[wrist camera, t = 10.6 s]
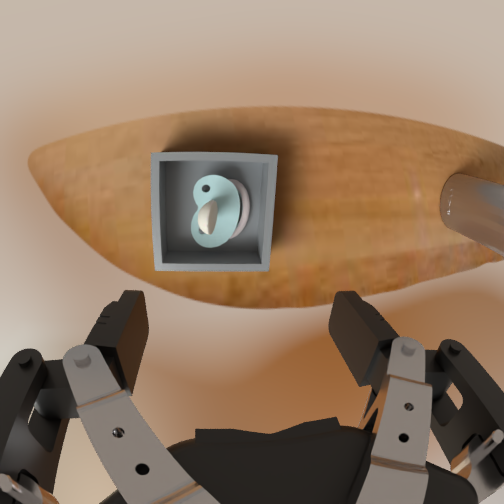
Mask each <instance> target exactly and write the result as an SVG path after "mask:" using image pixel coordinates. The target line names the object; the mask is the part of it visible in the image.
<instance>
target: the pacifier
mask: <svg viewBox="0 0 504 504" xmlns="http://www.w3.org/2000/svg"><path fill="white" fill-rule="evenodd" d="M203 185H209V186H210V190H209V191H208V192H204V191H202V186H203ZM238 193H239V195H240V197H241V202H242V211H241V216H240V218H239V213H240V199H239V195H238ZM193 196H194V200H195V202H196V204H197V205H198V210H197V211H196V213H195V214H194V216H193V219H192V222H191V232H192V236H193V238H194V239H195V241H196V242H197V243H198V244H200V245H201V246H203V247H207V248H212V247H217V246H220V245H221V244H223V243H225V242H226V241H227V240H228V239H231V238H233V237H235V236H237V235H238V234H239V233H240V232H241V231H242V230H243V228H244V227H245V225H246V223H247V220H248V217H249V212H250V201H249V195H248V193H247V190H246V188H245V187H244V186H243V184H242V183H240V182H239V181H238V180H234V179H226V178H224V177H222V176H219V175H207V176H204V177H202V178H201V179H200V180H198V181H197V183H196V184H195V186H194V190H193ZM238 219H239V221H238ZM199 227H200V229H201V230H202V231H203V232H204V234H201V233H200V232H199Z"/></svg>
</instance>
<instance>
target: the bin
mask: <svg viewBox="0 0 504 504" xmlns="http://www.w3.org/2000/svg"><path fill="white" fill-rule="evenodd" d="M277 161H278V155H269V154H253V153H231V152H158V153H151V213H152V235H153V250H154V263H155V271H269V263H270V251H271V240H272V228H273V215H274V202H275V189H276V176H277ZM207 175H219V176H222V177H224V178H226V179H234V180H238V181H239V182H240V183H242V184H243V186H244V187H245V188H246V190H247V193H248V195H249V201H250V212H249V217H248V220H247V223H246V225H245V227H244V228H243V230H242V231H241V232H240V233H239V234H238V235H237V236H235V237H233V238H231V239H228V240H227V241H226V242H225V243H223V244H221V245H220V246H217V247H212V248H207V247H203V246H201V245H200V244H198V243H197V242H196V241H195V239H194V238H193V236H192V232H191V222H192V219H193V216H194V214H195V213H196V211H197V210H198V205H197V204H196V202H195V200H194V196H193V190H194V186H195V184H196V183H197V181H198V180H200V179H201V178H202V177H204V176H207ZM209 190H210V186H209V185H203V186H202V191H204V192H208V191H209ZM238 195H239V193H238ZM239 199H240V213H239V218H240V216H241V211H242V202H241V197H240V195H239ZM238 221H239V219H238ZM199 232H200V233H201V234H204V232H203V231H202V230H201V229H200V227H199Z"/></svg>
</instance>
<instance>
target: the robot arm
mask: <svg viewBox="0 0 504 504" xmlns="http://www.w3.org/2000/svg"><path fill="white" fill-rule="evenodd" d="M440 211H441V217H442V220H443V222H444V224H445V225H446V226H447V227H448V228H450V229H452V230H454V231H456V232H458V233H460V234H462V235H464V236H466V237H468V238H470V239H472V240H474V241H476V242H478V243H480V244H482V245H484V246H486V247H488V248H490V249H491V250H493V251H495V252H497V253H499V254H501V255H502V256H504V185H502V184H498V183H495V182H491V181H488V180H484V179H480V178H477V177H473V176H469V175H465V174H460V173H457V174H454V175H452V176H451V177H450V178H449V179H448V180H447V182H446V184H445V186H444V188H443V191H442V195H441V201H440ZM148 333H149V325H148V317H147V311H146V305H145V297H144V293H143V291H137V290H135V291H134V290H125V291H124V292H123V294H122V296H121V297H120V299H119V301H118V302H117V301H113V302H111V303H110V304H109V305H107V306H106V307H105V308H104V309H103V311H102V313H101V314H100V317H99V318H98V319H97V321H96V324H95V325H94V327H93V328H92V330H91V332H90V334H89V335H88V337H87V339H86V341H85V343H84V344H83V345H78V346H75V347H73V348H71V349H69V350H68V351H67V352H66V354H65V355H64V357H63V359H61V360H50V361H44V360H43V358H42V355H41V353H40V352H39V351H37V350H35V349H24V350H21V351H19V352H17V353H16V354H15V355H14V356H13V357H12V359H11V360H10V362H9V364H8V365H7V367H6V369H5V370H4V372H3V374H2V376H1V377H0V504H59V502H58V501H57V499H56V498H55V497H54V496H53V490H54V484H55V477H56V473H57V468H58V463H59V459H60V454H61V450H62V446H63V442H64V438H65V434H66V430H67V427H68V423H69V420H70V418H81V421H82V424H83V425H84V428H85V430H86V432H87V435H88V437H89V439H90V441H91V443H92V445H93V447H94V449H95V451H96V453H97V455H98V456H99V458H100V460H101V462H102V464H103V465H104V467H105V469H106V470H107V472H108V474H109V476H110V478H111V479H112V481H113V482H114V484H115V486H116V487H117V490H116V491H115V492H113V493H112V494H111V495H110V496H108V497H107V498H106V499H104V500H103V501H102V502H101V503H99V504H479V503H480V502H481V501H483V500H484V499H485V498H487V497H488V496H490V495H491V494H493V493H494V492H496V491H497V490H498V489H500V488H501V487H502V486H504V393H503V391H502V390H501V389H500V387H499V386H498V385H497V384H496V382H495V381H494V380H493V379H492V377H491V376H490V375H489V374H488V373H487V372H486V370H485V369H484V368H483V367H482V366H481V365H480V363H479V362H478V361H477V360H476V359H475V358H474V357H473V356H472V354H471V353H470V352H469V351H468V350H467V349H466V348H465V347H464V346H463V345H462V344H461V343H459V342H457V341H455V340H451V339H446V340H443V341H442V342H441V344H440V346H439V348H438V350H425V349H424V347H423V346H422V344H421V343H419V342H418V341H417V340H415V339H412V338H409V337H400V336H399V335H398V334H397V333H396V332H395V331H394V329H393V328H392V327H391V326H390V325H389V324H388V322H387V321H386V320H385V319H384V318H383V317H382V315H380V313H379V312H378V311H377V310H376V309H375V308H374V307H373V306H372V305H370V304H369V303H367V302H365V301H363V300H362V299H361V297H360V296H359V295H358V294H357V293H356V292H355V291H338V292H337V293H336V295H335V298H334V302H333V307H332V311H331V315H330V319H329V333H330V335H331V337H332V339H333V341H334V342H335V344H336V346H337V348H338V350H339V351H340V353H341V355H342V357H343V358H344V360H345V362H346V364H347V366H348V367H349V369H350V371H351V373H352V374H353V376H354V378H355V380H356V382H357V384H358V386H359V387H361V386H366V385H371V387H372V388H371V390H370V392H369V395H368V398H367V402H366V405H365V408H364V411H363V414H362V417H361V420H360V423H359V426H358V428H356V427H351V426H340V424H339V422H338V420H337V417H332V418H327V419H322V420H316V421H310V422H304V423H302V424H299V425H296V426H293V427H291V428H288V429H285V430H282V431H279V432H276V433H272V434H265V433H257V432H249V431H243V430H236V429H195V438H194V439H189V440H185V441H182V442H179V443H177V444H174V445H172V446H170V447H168V448H165V447H164V445H163V444H162V443H161V442H160V440H159V439H158V438H157V437H156V435H155V434H154V432H153V431H152V430H151V428H150V427H149V426H148V424H147V423H146V421H145V420H144V419H143V417H142V416H141V415H140V413H139V411H138V410H137V408H136V407H135V405H134V404H133V402H132V401H131V399H130V398H129V396H132V394H133V389H134V386H135V382H136V378H137V374H138V370H139V367H140V363H141V360H142V356H143V352H144V349H145V345H146V342H147V339H148ZM452 382H453V383H454V385H455V386H456V388H457V389H458V390H459V392H460V393H461V395H462V397H463V404H462V406H461V408H460V409H459V410H458V409H457V407H456V406H455V405H454V403H453V402H452V400H451V399H450V397H449V396H448V394H447V393H446V391H447V389H448V388H449V387H450V385H451V384H452ZM33 406H34V407H35V408H34V411H33V413H32V416H31V418H30V421H29V424H28V419H29V416H30V414H31V411H32V409H33ZM430 428H431V430H432V432H433V433H434V435H435V437H436V439H437V441H438V442H439V444H440V446H441V448H442V450H443V452H444V454H445V456H446V457H447V459H448V461H449V463H450V465H451V466H450V470H451V471H448V470H446V469H443V468H441V467H439V466H436V465H434V464H432V463H430V462H427V461H426V456H427V449H428V442H429V433H430Z"/></svg>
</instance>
